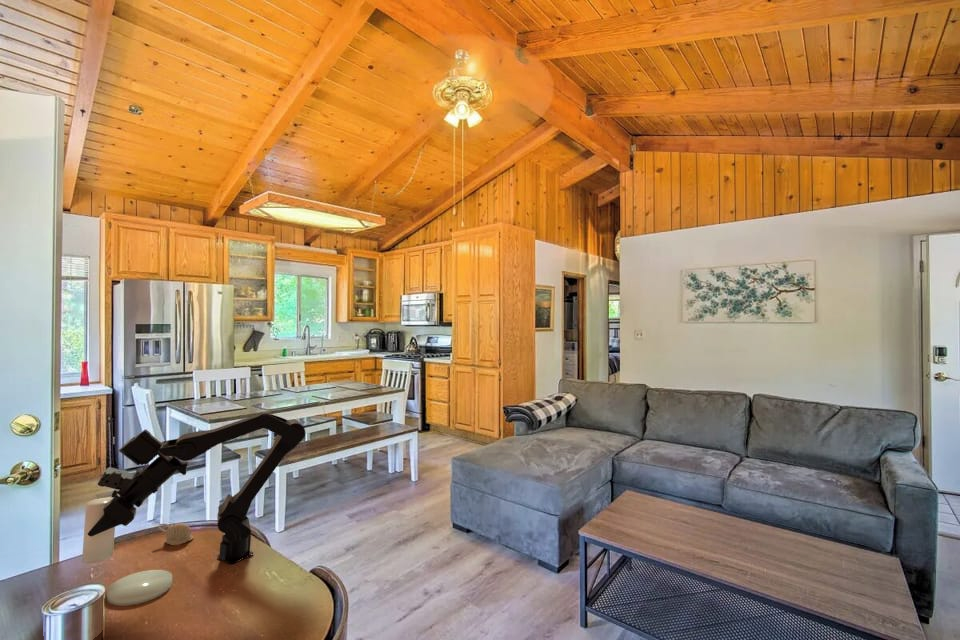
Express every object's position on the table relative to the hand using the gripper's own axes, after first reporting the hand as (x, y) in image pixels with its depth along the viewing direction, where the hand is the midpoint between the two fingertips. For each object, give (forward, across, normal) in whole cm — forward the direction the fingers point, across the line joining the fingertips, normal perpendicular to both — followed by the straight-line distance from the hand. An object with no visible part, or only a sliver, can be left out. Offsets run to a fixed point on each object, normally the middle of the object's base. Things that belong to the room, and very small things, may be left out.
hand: (92, 530), depth 105 cm
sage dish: (+1, +8, +16) cm, 18 cm away
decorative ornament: (-2, -16, +20) cm, 26 cm away
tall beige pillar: (+4, 0, +6) cm, 7 cm away
